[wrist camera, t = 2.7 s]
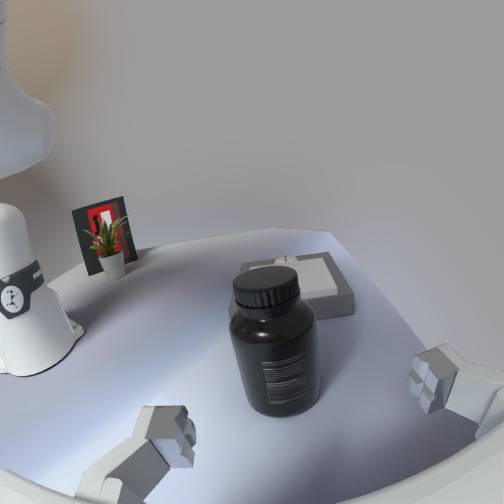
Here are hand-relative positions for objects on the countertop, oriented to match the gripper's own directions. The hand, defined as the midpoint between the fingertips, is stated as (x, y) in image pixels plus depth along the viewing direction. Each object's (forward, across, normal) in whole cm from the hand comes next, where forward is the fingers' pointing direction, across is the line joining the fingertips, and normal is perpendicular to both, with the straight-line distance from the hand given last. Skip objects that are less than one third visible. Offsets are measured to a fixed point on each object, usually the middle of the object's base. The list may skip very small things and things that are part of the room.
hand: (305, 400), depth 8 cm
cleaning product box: (+73, +45, +11) cm, 86 cm away
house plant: (+59, +36, +11) cm, 70 cm away
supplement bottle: (+13, 0, +12) cm, 18 cm away
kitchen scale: (+34, -4, +12) cm, 36 cm away
